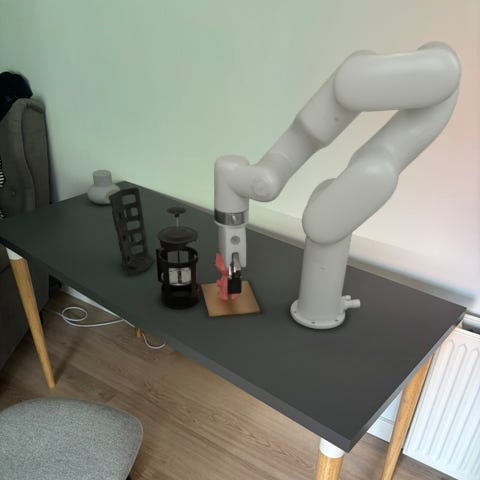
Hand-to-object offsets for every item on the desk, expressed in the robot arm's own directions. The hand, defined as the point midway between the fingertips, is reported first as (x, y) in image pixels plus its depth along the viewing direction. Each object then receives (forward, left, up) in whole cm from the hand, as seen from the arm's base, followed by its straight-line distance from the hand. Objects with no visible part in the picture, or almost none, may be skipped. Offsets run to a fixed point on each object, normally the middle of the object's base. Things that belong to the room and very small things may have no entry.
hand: (230, 282), depth 121 cm
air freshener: (+30, -67, -5) cm, 74 cm away
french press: (+12, -2, -5) cm, 13 cm away
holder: (+22, -20, -5) cm, 30 cm away
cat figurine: (0, 0, -4) cm, 4 cm away
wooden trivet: (0, 0, -4) cm, 4 cm away
